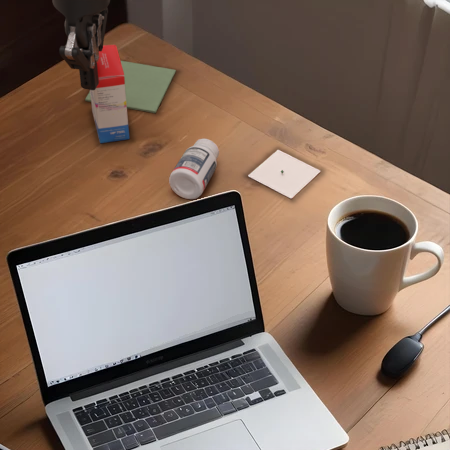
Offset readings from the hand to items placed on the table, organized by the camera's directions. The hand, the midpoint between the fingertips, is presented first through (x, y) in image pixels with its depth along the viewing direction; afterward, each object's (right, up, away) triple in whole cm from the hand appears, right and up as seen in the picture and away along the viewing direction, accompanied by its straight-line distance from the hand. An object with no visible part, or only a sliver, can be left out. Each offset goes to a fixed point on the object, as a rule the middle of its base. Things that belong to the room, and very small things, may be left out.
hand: (90, 86), depth 119 cm
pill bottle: (+13, -14, +1) cm, 20 cm away
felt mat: (+4, +6, +20) cm, 21 cm away
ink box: (+1, -2, +14) cm, 14 cm away
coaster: (+28, -11, +7) cm, 31 cm away
